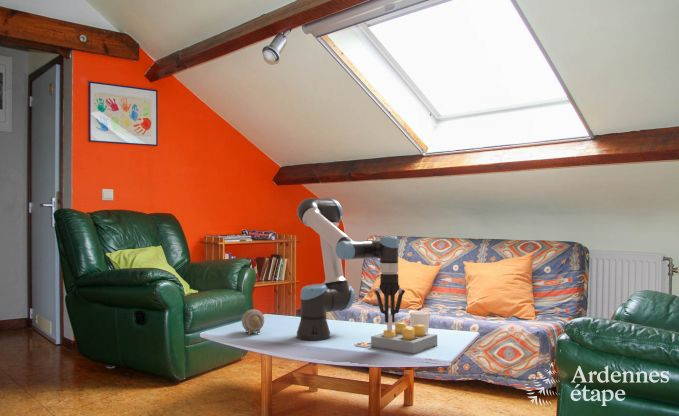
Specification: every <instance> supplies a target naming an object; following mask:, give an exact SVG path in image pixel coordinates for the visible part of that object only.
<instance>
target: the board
mask: <svg viewBox="0 0 679 416" xmlns="http://www.w3.org/2000/svg"><path fill="white" fill-rule="evenodd" d="M370 343H371V346H370V347H371V348H374V349H381V350H385V351H392V352H398V353H405V354H410V355H415V354H417V353H421V352H424V351H426V350H429V349H431V348H434V347H436V346H438V334H435V333H429V332H428V333H425V336H424V337H417V336H414V340H412V341H409V340H403V337H402V334H396V333H395V337H394V338H388V337H384V332H382V333H379V334H375V335H372V336H370Z"/></svg>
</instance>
